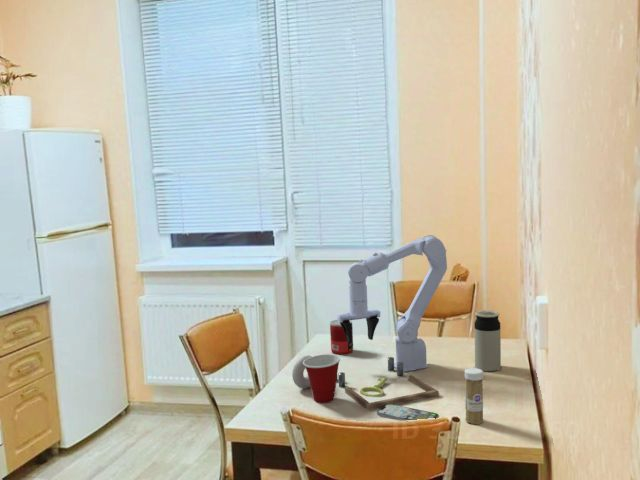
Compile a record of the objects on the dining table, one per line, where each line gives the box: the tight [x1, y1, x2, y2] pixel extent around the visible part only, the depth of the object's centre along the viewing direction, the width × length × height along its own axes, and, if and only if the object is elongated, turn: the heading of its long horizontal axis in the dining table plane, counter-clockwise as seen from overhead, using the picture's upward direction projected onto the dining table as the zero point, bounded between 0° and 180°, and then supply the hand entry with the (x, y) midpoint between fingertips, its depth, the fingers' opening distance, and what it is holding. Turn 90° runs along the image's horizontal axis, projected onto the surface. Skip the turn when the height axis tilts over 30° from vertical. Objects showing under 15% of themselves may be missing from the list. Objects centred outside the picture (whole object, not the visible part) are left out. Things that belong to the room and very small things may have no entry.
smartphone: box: [376, 404, 439, 421], centre depth 162 cm, size 7×1×15 cm
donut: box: [291, 354, 313, 389], centre depth 185 cm, size 10×4×10 cm, turn 135°
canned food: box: [329, 319, 354, 356], centre depth 219 cm, size 8×8×11 cm
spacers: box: [337, 356, 404, 388], centre depth 191 cm, size 22×8×4 cm, turn 111°
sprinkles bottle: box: [464, 367, 484, 425], centre depth 155 cm, size 5×5×13 cm
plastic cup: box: [303, 353, 341, 404], centre depth 175 cm, size 11×11×12 cm
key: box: [359, 376, 388, 398], centre depth 182 cm, size 7×12×2 cm, turn 168°
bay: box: [344, 374, 439, 411], centre depth 177 cm, size 22×15×2 cm
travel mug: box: [473, 310, 502, 372], centre depth 195 cm, size 8×8×18 cm
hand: (359, 340), depth 199 cm, fingers open, 7 cm apart
